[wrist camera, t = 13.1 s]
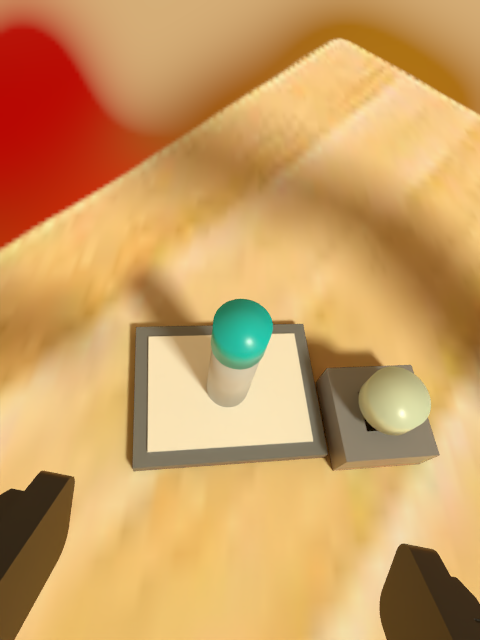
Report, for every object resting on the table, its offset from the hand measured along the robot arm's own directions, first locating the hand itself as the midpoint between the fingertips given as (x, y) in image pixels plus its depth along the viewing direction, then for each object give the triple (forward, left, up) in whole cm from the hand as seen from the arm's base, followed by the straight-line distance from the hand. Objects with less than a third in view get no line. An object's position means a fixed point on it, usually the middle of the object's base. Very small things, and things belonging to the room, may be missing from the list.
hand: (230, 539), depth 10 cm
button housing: (-14, -8, -21) cm, 26 cm away
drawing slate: (-3, -11, -21) cm, 24 cm away
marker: (-3, -11, -19) cm, 23 cm away
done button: (-14, -8, -18) cm, 24 cm away
